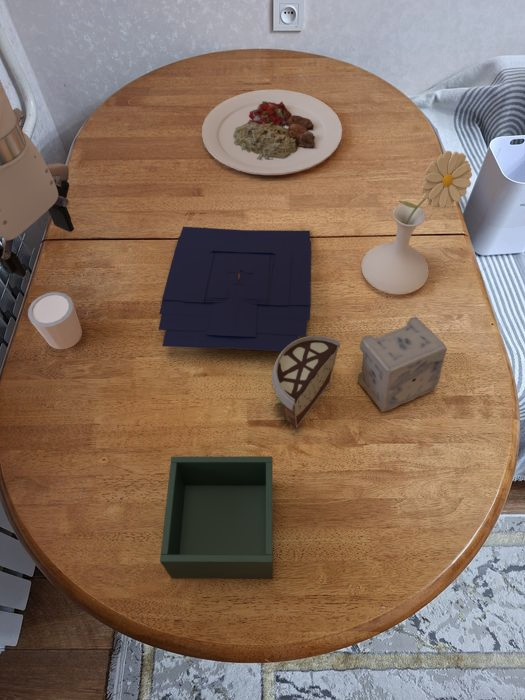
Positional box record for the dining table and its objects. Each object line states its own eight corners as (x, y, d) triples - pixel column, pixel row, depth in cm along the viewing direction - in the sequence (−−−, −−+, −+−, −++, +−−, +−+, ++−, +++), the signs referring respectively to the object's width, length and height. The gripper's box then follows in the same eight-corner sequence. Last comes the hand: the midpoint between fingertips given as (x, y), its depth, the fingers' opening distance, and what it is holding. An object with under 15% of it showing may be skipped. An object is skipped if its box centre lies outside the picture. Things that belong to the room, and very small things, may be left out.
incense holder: (405, 351, 87) (419, 310, 78) (436, 392, 83) (455, 353, 74) (351, 374, 85) (360, 334, 76) (380, 417, 80) (393, 380, 72)
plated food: (243, 199, 108) (242, 185, 105) (179, 122, 123) (177, 108, 120) (369, 151, 116) (371, 137, 113) (295, 83, 131) (295, 69, 128)
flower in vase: (363, 300, 93) (389, 179, 72) (357, 251, 99) (379, 127, 79) (441, 299, 93) (489, 178, 72) (429, 250, 99) (470, 126, 79)
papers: (152, 357, 85) (148, 341, 83) (183, 238, 105) (180, 222, 102) (309, 364, 84) (310, 348, 82) (310, 242, 104) (311, 226, 101)
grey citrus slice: (301, 357, 87) (304, 318, 78) (334, 376, 85) (341, 338, 76) (255, 414, 81) (253, 379, 73) (290, 436, 79) (292, 402, 71)
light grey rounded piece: (71, 311, 93) (58, 284, 87) (94, 336, 90) (81, 309, 84) (35, 334, 90) (19, 307, 84) (57, 360, 87) (41, 334, 81)
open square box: (272, 578, 68) (272, 562, 61) (171, 578, 68) (159, 561, 61) (272, 481, 75) (272, 456, 68) (180, 481, 75) (171, 456, 68)
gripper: (18, 94, 67) (62, 203, 81) (-96, 174, 59) (-25, 281, 73) (65, 110, 65) (102, 220, 79) (-46, 196, 57) (17, 302, 71)
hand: (41, 249), depth 76 cm, fingers open, 9 cm apart
